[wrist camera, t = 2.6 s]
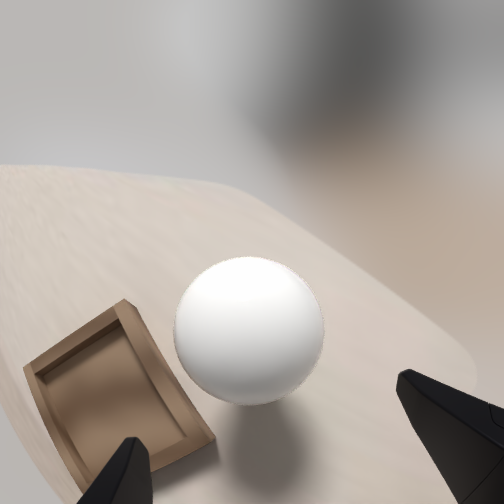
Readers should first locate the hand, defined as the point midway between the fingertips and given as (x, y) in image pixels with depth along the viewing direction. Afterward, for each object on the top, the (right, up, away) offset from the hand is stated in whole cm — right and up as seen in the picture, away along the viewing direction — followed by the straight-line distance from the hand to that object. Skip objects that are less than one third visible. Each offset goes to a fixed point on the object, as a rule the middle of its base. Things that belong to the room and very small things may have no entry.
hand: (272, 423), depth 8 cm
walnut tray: (-11, -6, +10) cm, 15 cm away
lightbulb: (-1, -1, +11) cm, 11 cm away
